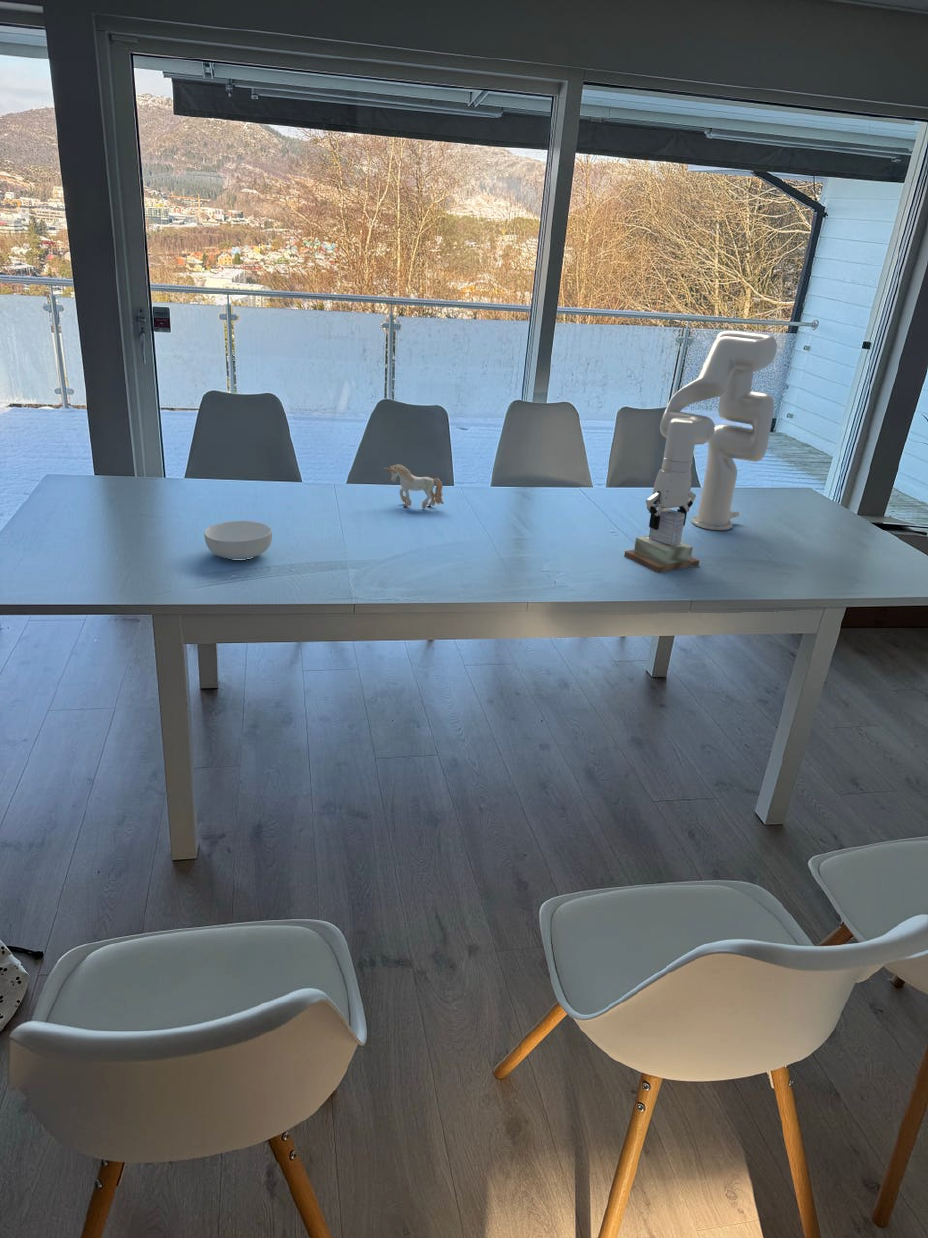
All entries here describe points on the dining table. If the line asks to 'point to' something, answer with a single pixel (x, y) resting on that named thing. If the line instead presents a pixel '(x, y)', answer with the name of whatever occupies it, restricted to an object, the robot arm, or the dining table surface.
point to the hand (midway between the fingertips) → (666, 526)
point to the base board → (656, 565)
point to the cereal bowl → (238, 539)
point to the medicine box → (669, 527)
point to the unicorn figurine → (416, 485)
